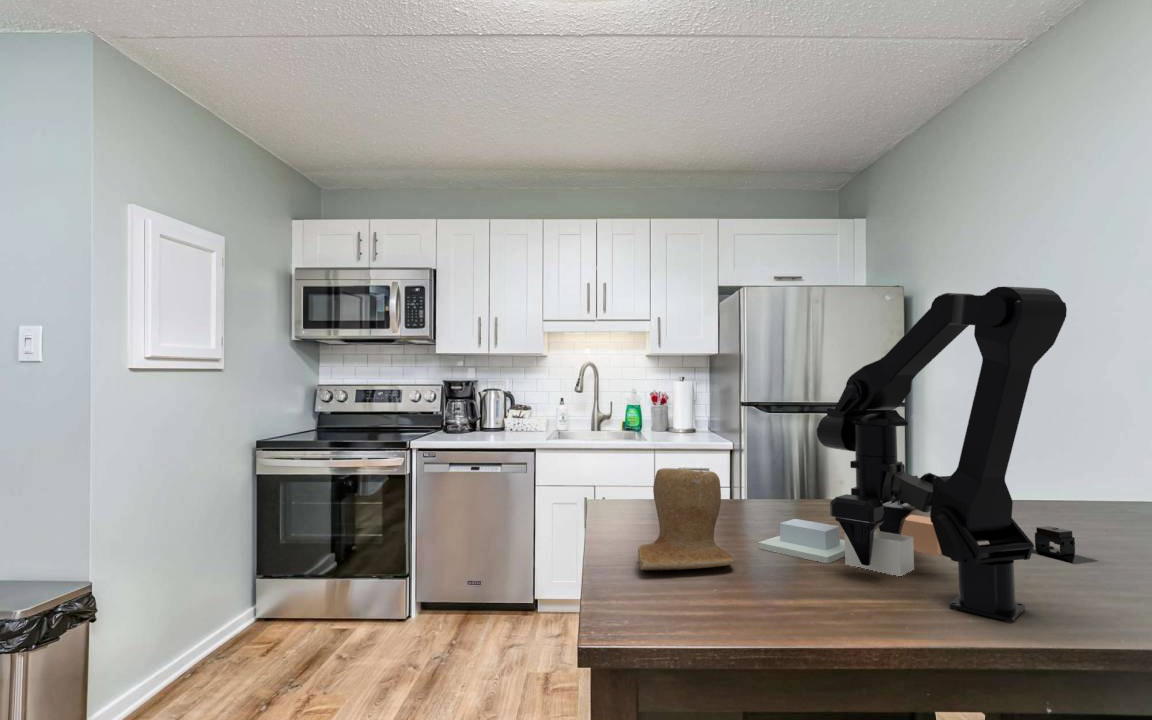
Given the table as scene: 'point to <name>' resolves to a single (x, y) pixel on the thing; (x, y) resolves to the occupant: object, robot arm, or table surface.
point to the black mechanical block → (1060, 538)
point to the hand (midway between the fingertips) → (878, 558)
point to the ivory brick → (885, 554)
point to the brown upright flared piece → (685, 522)
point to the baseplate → (803, 550)
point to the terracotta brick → (921, 534)
